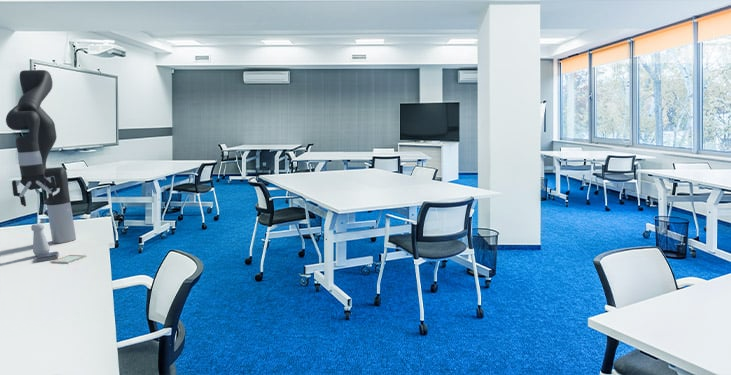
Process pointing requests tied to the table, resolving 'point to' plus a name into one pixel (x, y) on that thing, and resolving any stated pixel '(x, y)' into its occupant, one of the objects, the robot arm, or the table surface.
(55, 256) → the ink pad
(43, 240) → the salt shaker
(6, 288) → the table surface
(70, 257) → the marked square
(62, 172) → the robot arm
